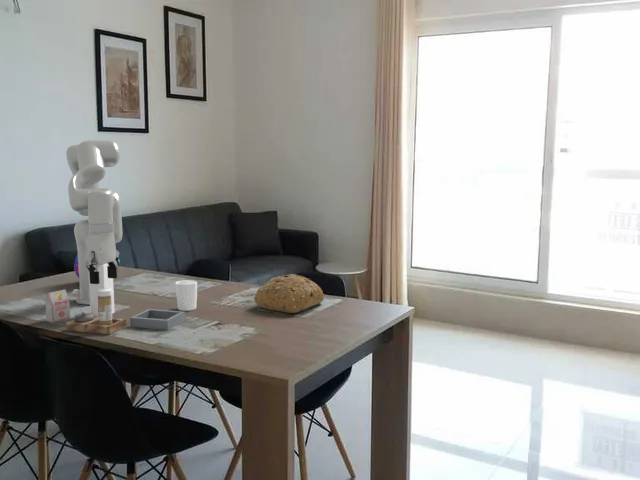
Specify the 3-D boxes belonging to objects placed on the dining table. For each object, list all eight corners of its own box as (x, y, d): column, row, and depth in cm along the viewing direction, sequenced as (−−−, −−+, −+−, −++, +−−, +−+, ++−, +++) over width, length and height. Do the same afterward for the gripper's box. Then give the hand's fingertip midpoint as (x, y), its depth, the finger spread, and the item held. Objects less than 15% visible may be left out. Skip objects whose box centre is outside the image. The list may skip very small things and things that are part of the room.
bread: (295, 317, 232) (295, 284, 230) (248, 309, 243) (247, 277, 241) (331, 303, 252) (331, 272, 250) (286, 296, 264) (286, 266, 262)
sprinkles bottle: (95, 329, 216) (93, 289, 214) (108, 326, 219) (106, 287, 217) (103, 332, 213) (101, 291, 211) (116, 329, 216) (114, 289, 214)
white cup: (192, 311, 238) (192, 285, 237) (172, 310, 240) (171, 283, 239) (201, 306, 246) (200, 280, 245) (181, 305, 248) (180, 279, 246)
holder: (66, 330, 215) (65, 315, 214) (84, 322, 224) (83, 308, 223) (110, 334, 210) (109, 319, 210) (126, 326, 219) (125, 311, 219)
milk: (90, 316, 232) (86, 254, 229) (100, 311, 238) (96, 252, 235) (106, 317, 231) (102, 255, 228) (115, 312, 237) (112, 252, 233)
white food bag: (46, 320, 226) (44, 292, 225) (63, 316, 232) (62, 288, 230) (52, 322, 224) (51, 293, 223) (70, 318, 230) (68, 290, 228)
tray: (130, 326, 219) (130, 317, 219) (149, 317, 231) (148, 308, 230) (167, 330, 215) (167, 320, 215) (185, 320, 227) (184, 311, 226)
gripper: (106, 225, 220) (109, 275, 223) (74, 231, 204) (77, 285, 206) (126, 226, 218) (128, 276, 220) (95, 232, 202) (97, 286, 204)
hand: (103, 280), depth 213 cm, fingers open, 9 cm apart
